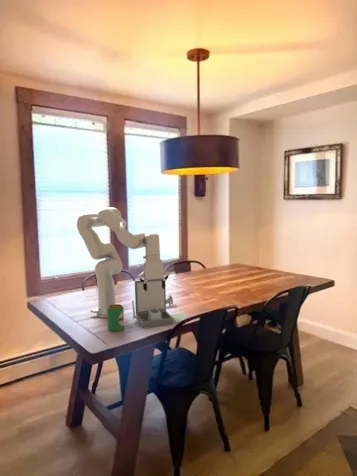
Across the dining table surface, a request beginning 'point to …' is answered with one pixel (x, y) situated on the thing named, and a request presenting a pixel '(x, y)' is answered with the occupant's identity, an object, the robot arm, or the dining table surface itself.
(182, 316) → the mat
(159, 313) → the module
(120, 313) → the beverage can
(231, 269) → the dining table surface
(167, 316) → the equipment case
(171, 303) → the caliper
